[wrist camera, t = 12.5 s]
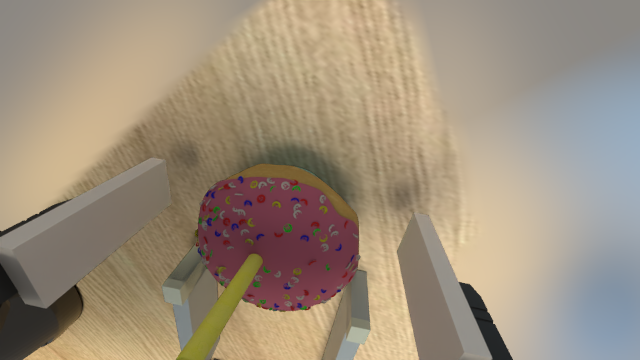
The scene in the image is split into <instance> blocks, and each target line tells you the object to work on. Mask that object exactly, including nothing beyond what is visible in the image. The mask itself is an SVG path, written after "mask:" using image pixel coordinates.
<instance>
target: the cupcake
mask: <svg viewBox="0 0 640 360" xmlns="http://www.w3.org/2000/svg"><path fill="white" fill-rule="evenodd" d="M200 205H201V207H200V213H199V220H198V229H197V230H196V231H195V236H196V237H197V243H196V247H198V246H200V247H199V248H198V253H199V254H200V255H201V260H202V263H203V264H204V266H205V267H206V269H208V270H209V271H210V273H211V274H212V276H213V277H214V278H215V279H216V280H217V281H218V282H219V283H220V284H221V285H222V286H224V287H225V288H226V289H225V290H224V292H223V293H222V295H221V296H220V297H219V299H218V300H217V302H216V303H215V304H214V306H213V307H212V309H211V310H210V312H209V313H208V314H207V316H206V317H205V319H204V320H203V321H202V323H201V324H200V326H199V327H198V329H197V330H196V331H195V333H194V334H193V336H192V337H191V338H190V340H189V341H188V343H187V344H186V345H185V347H184V348H183V350H182V351H181V353H180V354H179V355H178V357H177V359H176V360H205V358H206V357H207V355H208V353H209V352H210V350H211V348H212V347H213V345H214V343H215V342H216V340H217V338H218V337H219V335H220V333H221V332H222V330H223V328H224V327H225V325H226V323H227V322H228V320H229V318H230V317H231V315H232V313H233V312H234V310H235V308H236V307H237V305H238V303H239V301H240V300H241V299H243V301H245V302H249V303H252V304H255V305H256V306H257V307H259V308H260V307H262V308H263V309H269V310H273V311H277V310H279V311H280V312H285V311H296V310H300V309H301V310H309V309H310V307H311V306H313V305H316V304H320V303H326V302H327V301H329V300H330V299H331V297H334V296H335V295H336V293H338V292H340V291H341V289H342V288H343V287H345V286H346V285H347V284H348V283H349V282H350V281H351V280H352V279H353V277H354V275H355V273H356V271H357V268H358V260H359V259H360V255H359V223H358V217H357V215H356V213H355V212H354V210H353V209H352V208H351V207H350V206H349V205H348V204H347V203H346V202H345V201H344V200H343V199H342V198H341V197H340V196H339V195H338V194H337V193H336V192H335V191H334V190H333V189H331V188H330V187H329V186H328V185H327V184H326V183H324V182H323V181H322V180H320V179H319V178H318V177H317V176H316V175H315V174H313V173H312V172H310V171H308V170H306V169H303V168H299V167H294V166H288V165H272V164H258V165H255V166H252V167H250V168H248V169H246V170H244V171H241V172H239V173H237V174H235V175H232V176H230V177H229V178H227V179H226V180H222V181H219V182H217V183H216V184H215V185H214V186H212V187H211V188H210V190H209V191H208V192H207V193H206V195H205V196H204V198H203V200H202V202H201V203H200ZM197 234H198V235H197ZM197 244H198V245H197ZM199 249H200V251H199ZM323 301H324V302H323ZM306 308H308V309H306Z"/></svg>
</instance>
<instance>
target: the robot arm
mask: <svg viewBox="0 0 640 360" xmlns="http://www.w3.org/2000/svg"><path fill="white" fill-rule="evenodd" d="M170 204H172V200H171V193H170V186H169V179H168V173H167V166H166V160H163V159H158V158H153V157H151V158H149V159H147V160H145V161H144V162H142V163H140V164H138V165H136V166H134V167H132V168H130V169H128V170H127V171H125V172H123V173H121V174H119V175H117V176H115V177H113V178H111V179H109V180H108V181H106V182H104V183H102V184H100V185H98V186H96V187H94V188H92V189H91V190H89V191H87V192H85V193H83V194H81V195H79V196H77V197H75V198H73V199H70V200H67V201H64V202H61V203H58V204H55V205H53V206H51V207H49V208H47V209H45V210H43V211H41V212H40V213H39V214H35V215H33V216H31V217H29V218H28V219H27V220H26V221H22V222H20V223H18V224H16V225H14V226H12V227H10V228H8V229H6V230H4V231H0V360H23V359H24V358H26V357H27V356H28V355H30V354H31V353H33V352H34V351H36V350H37V349H38V348H40V347H43V346H45V345H47V344H49V343H51V342H52V341H54V340H55V339H57V338H58V337H59V336H60V335H61V334H62V333H63V332H64V331H65V330H66V329H67V328H68V327H69V326H71V325H72V324H73V323H74V322H75V321H76V320H77V319H78V318H79V316H80V314H81V311H82V304H81V300H80V297H79V295H78V293H77V291H76V289H75V287H74V285H75V284H76V283H77V282H79V281H80V280H81V279H82V278H83V277H85V276H86V275H87V274H88V273H89V272H91V271H92V270H93V269H94V268H95V267H96V266H98V265H99V264H100V263H101V262H102V261H104V260H105V259H106V258H107V257H108V256H110V255H111V254H112V253H113V252H114V251H116V250H117V249H118V248H119V247H120V246H122V245H123V244H124V243H125V242H126V241H128V240H129V239H130V238H131V237H132V236H133V235H135V234H136V233H137V232H138V231H139V230H141V229H142V228H143V227H144V226H145V225H147V224H148V223H149V222H150V221H151V220H153V219H154V218H155V217H156V216H157V215H159V214H160V213H161V212H162V211H163V210H165V209H166V208H167V207H168V206H169V205H170ZM397 255H398V260H399V264H400V269H401V274H402V279H403V284H404V289H405V293H406V298H407V303H408V308H409V313H410V318H411V322H412V327H413V332H414V337H415V342H416V347H417V351H418V356H419V360H513V359H512V357H511V355H510V353H509V351H508V349H507V348H506V345H505V344H504V341H503V339H502V337H501V336H500V334H499V332H498V330H497V328H496V326H495V324H493V320H492V318H491V316H490V314H489V313H488V312H487V308H486V306H485V304H484V302H483V300H482V298H481V296H480V295H479V294H478V293H477V292H476V291H475V290H474V288H473V287H472V286H471V285H470V284H465V283H461V282H458V280H457V278H456V275H455V273H454V271H453V269H452V266H451V264H450V262H449V260H448V257H447V255H446V253H445V251H444V248H443V246H442V244H441V242H440V239H439V237H438V235H437V233H436V230H435V228H434V226H433V224H432V221H431V219H430V217H429V215H425V214H420V213H415V212H414V213H413V215H412V218H411V220H410V222H409V225H408V227H407V229H406V232H405V234H404V236H403V239H402V241H401V243H400V246H399V248H398V250H397Z"/></svg>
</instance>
